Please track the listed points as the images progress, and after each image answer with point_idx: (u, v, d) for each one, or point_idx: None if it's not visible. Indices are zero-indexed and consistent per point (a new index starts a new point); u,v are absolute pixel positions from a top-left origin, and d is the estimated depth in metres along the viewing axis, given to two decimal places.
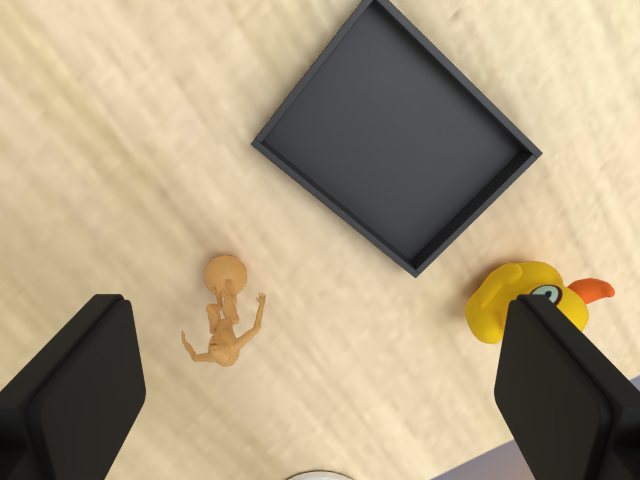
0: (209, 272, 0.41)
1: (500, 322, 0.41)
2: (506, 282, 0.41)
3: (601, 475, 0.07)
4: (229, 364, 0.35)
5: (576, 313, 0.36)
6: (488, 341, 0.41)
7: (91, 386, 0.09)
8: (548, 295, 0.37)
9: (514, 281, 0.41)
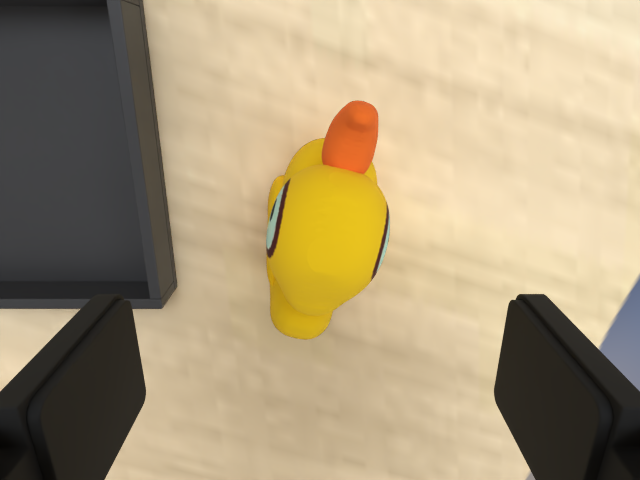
0: None
1: None
2: None
3: (601, 475, 0.07)
4: None
5: (321, 211, 0.15)
6: (303, 337, 0.20)
7: (91, 386, 0.09)
8: (272, 210, 0.16)
9: None
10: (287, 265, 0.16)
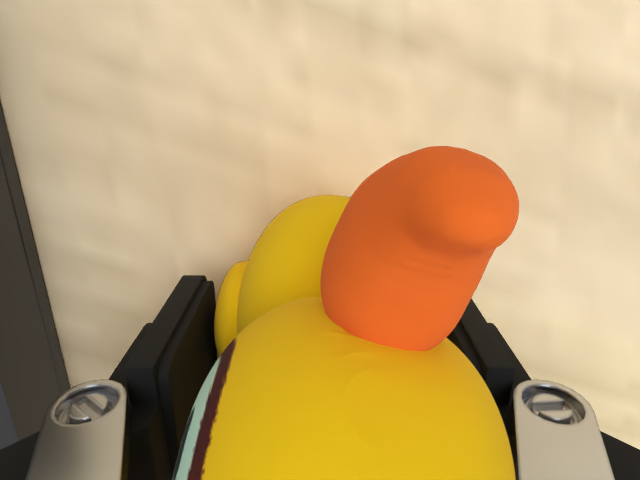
0: None
1: None
2: None
3: None
4: None
5: None
6: None
7: (193, 355, 0.10)
8: (180, 452, 0.06)
9: None
10: None
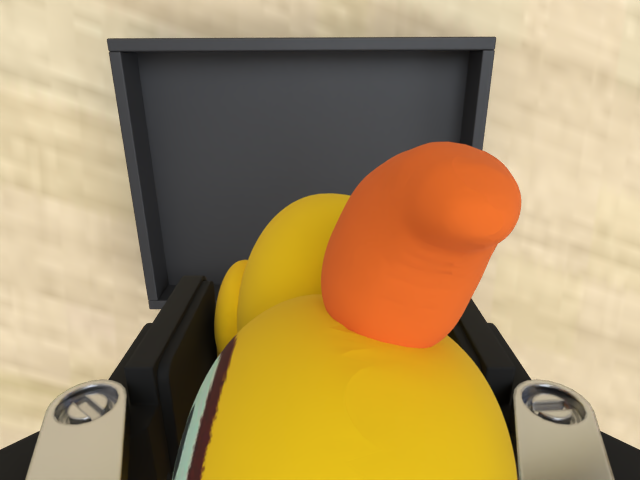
0: None
1: None
2: None
3: None
4: None
5: None
6: None
7: (193, 355, 0.10)
8: (180, 450, 0.06)
9: None
10: None
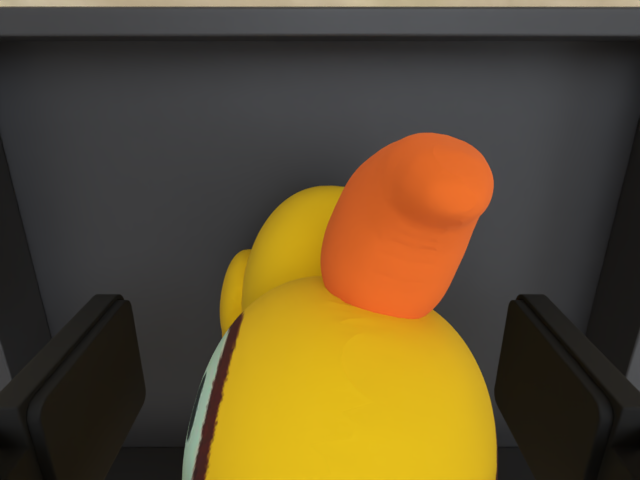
0: None
1: None
2: None
3: (601, 475, 0.07)
4: None
5: None
6: None
7: (91, 386, 0.09)
8: (193, 412, 0.06)
9: None
10: None
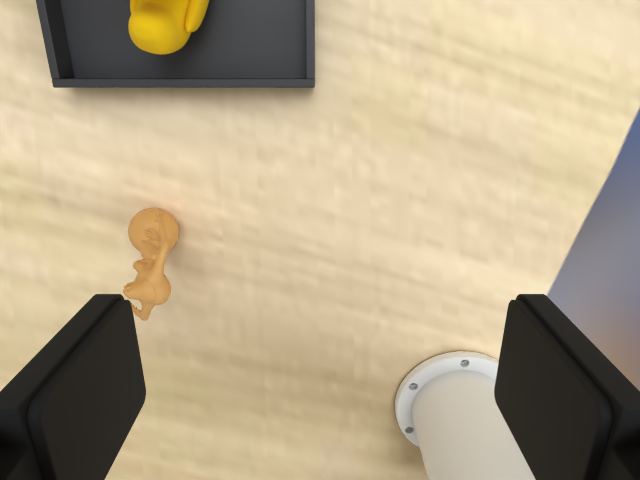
0: (130, 236, 0.37)
1: (148, 8, 0.29)
2: None
3: (601, 475, 0.07)
4: (161, 297, 0.30)
5: None
6: (148, 40, 0.29)
7: (91, 386, 0.09)
8: None
9: None
10: None
